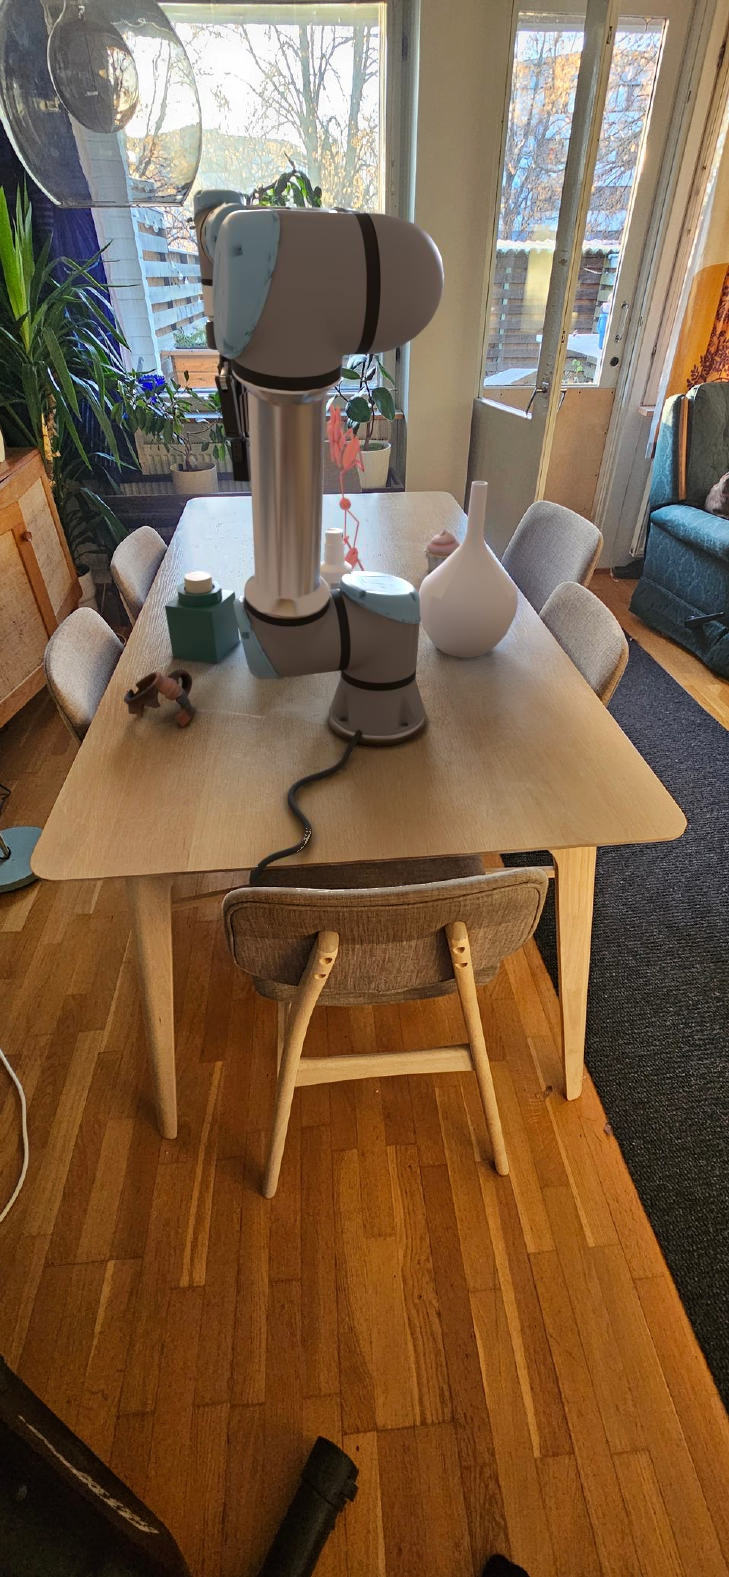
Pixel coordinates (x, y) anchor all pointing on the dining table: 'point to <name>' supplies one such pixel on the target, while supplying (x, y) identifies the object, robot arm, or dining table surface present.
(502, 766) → the dining table surface
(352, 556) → the figurine
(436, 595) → the vase
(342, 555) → the white bottle
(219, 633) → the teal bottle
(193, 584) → the beige cylinder
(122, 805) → the dining table surface
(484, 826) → the dining table surface
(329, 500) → the dining table surface
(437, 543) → the cupcake
